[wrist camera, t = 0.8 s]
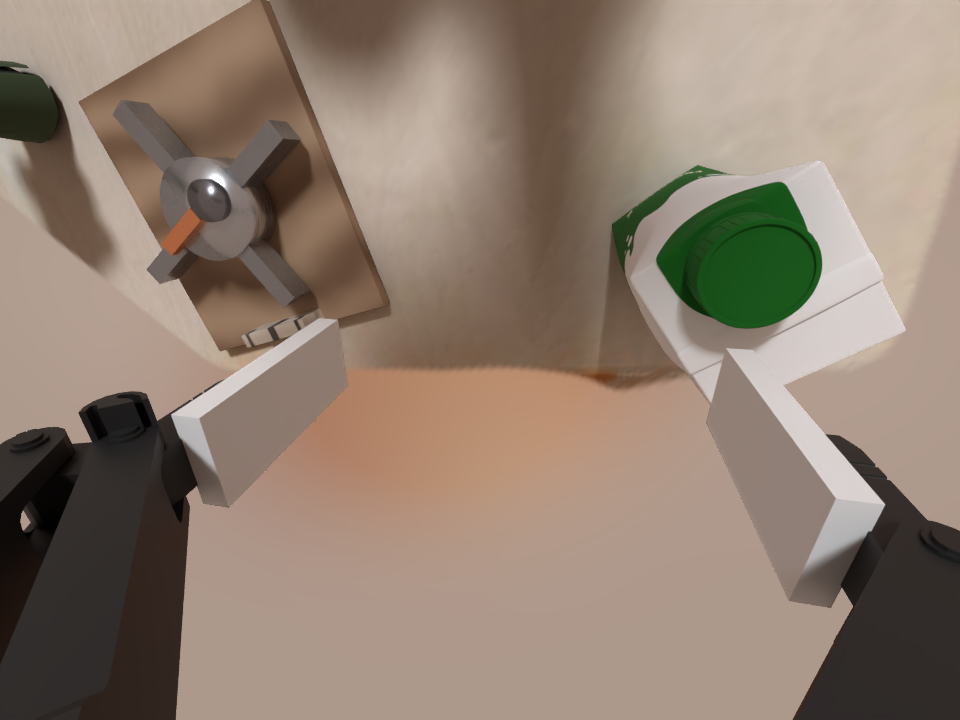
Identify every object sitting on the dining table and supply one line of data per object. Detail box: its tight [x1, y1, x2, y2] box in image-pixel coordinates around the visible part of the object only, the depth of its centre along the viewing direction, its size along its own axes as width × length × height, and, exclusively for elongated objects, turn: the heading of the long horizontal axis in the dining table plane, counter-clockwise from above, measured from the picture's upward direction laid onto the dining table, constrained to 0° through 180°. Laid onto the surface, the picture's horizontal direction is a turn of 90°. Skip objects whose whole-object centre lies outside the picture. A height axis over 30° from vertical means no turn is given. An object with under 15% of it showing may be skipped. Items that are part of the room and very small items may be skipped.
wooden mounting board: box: [79, 0, 390, 351], centre depth 38 cm, size 24×20×4 cm
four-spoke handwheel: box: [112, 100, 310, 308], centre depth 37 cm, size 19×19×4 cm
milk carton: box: [612, 160, 906, 405], centre depth 25 cm, size 9×9×20 cm
